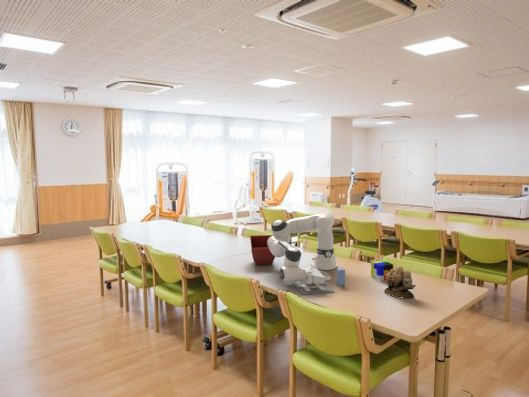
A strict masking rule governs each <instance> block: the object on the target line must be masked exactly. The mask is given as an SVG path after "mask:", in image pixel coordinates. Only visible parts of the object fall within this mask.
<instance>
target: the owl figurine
mask: <svg viewBox="0 0 529 397" xmlns="http://www.w3.org/2000/svg"><path fill="white" fill-rule="evenodd" d="M385 283H386V284H387V287H386V288H385V289H384V290H383V292H384V294H386V293H387V294H386V295H388V294H390V295H393V296H397V297H403V298H402V299H406V298H408V299H412V298H413V297H414V296H415V295H414V294H413V292H412V291H410V290H414V288H415V287H416V286H417V285H416V284H413V278H412V272H411V271H410V270H407V269H406V270H404V267H403V266H401V265H398V266H396V267H395V268H393V269H391V270H390V272H389V273H388V274H386V280H385ZM390 295H389V296H390ZM393 296H392V297H393ZM397 297H396V298H397Z"/></svg>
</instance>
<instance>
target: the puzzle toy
mask: <svg viewBox="0 0 529 397" xmlns="http://www.w3.org/2000/svg"><path fill="white" fill-rule="evenodd" d="M391 269H394V264H393V263H391V262H389V261H386V260H375V261H371V263H370V277H371V276H372V277H371V278H373V279H375V280H376V279H377V281H378V280H384V281H386V274H388V273H389V272H390V270H391Z"/></svg>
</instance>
